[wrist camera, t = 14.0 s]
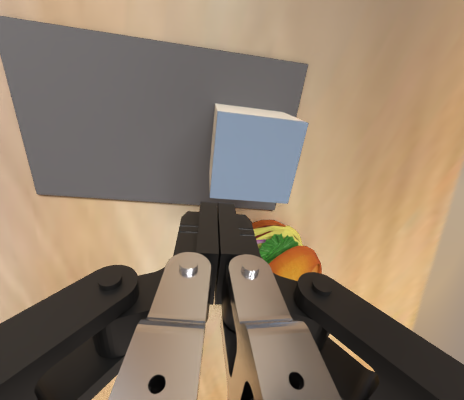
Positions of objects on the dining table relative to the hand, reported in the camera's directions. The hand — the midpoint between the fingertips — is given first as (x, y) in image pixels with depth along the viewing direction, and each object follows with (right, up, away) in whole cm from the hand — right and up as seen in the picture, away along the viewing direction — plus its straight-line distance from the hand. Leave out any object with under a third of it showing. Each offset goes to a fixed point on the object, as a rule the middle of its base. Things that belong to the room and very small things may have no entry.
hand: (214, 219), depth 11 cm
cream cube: (+3, +4, +8) cm, 10 cm away
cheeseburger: (+5, -5, +22) cm, 23 cm away
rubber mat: (-6, +8, +14) cm, 17 cm away
